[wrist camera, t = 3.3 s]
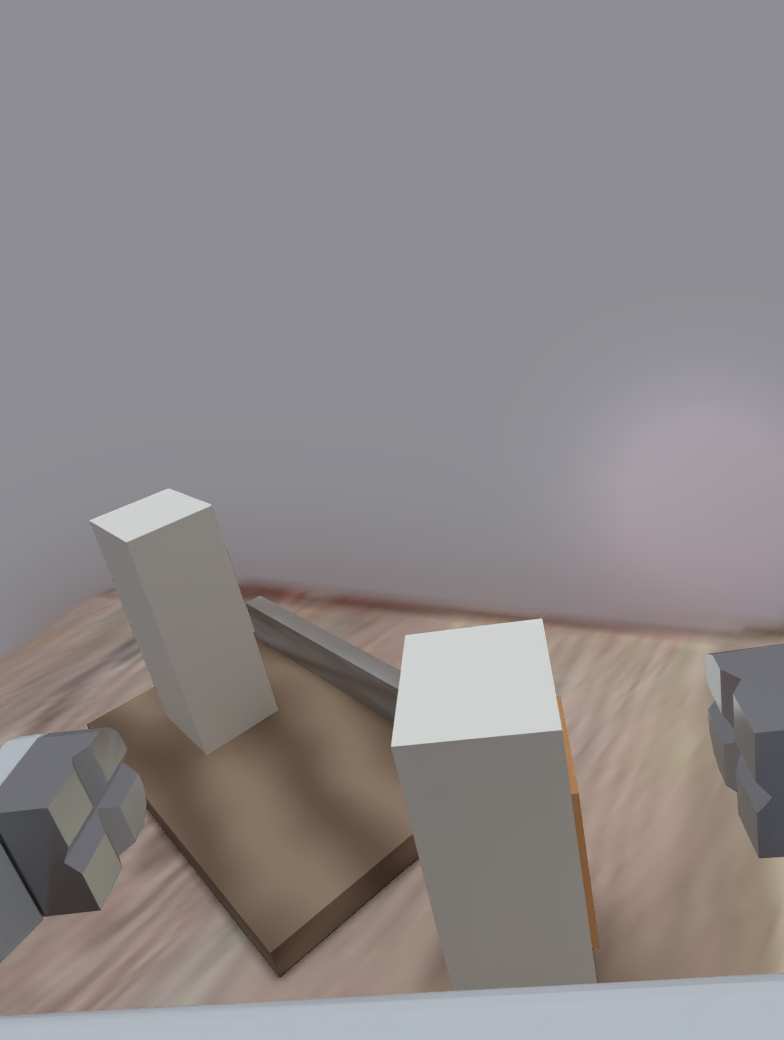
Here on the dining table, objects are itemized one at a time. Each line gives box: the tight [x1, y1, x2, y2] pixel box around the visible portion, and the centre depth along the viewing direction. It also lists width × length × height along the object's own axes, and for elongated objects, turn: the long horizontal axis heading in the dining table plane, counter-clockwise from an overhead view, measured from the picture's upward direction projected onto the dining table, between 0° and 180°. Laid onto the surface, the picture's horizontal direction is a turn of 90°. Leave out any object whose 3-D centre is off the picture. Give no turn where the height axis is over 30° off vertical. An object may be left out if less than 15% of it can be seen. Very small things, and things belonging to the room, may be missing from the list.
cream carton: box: [391, 619, 599, 991], centre depth 27 cm, size 5×6×14 cm
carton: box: [89, 488, 278, 755], centre depth 44 cm, size 5×6×14 cm
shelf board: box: [87, 596, 419, 977], centre depth 43 cm, size 14×24×4 cm, turn 40°
